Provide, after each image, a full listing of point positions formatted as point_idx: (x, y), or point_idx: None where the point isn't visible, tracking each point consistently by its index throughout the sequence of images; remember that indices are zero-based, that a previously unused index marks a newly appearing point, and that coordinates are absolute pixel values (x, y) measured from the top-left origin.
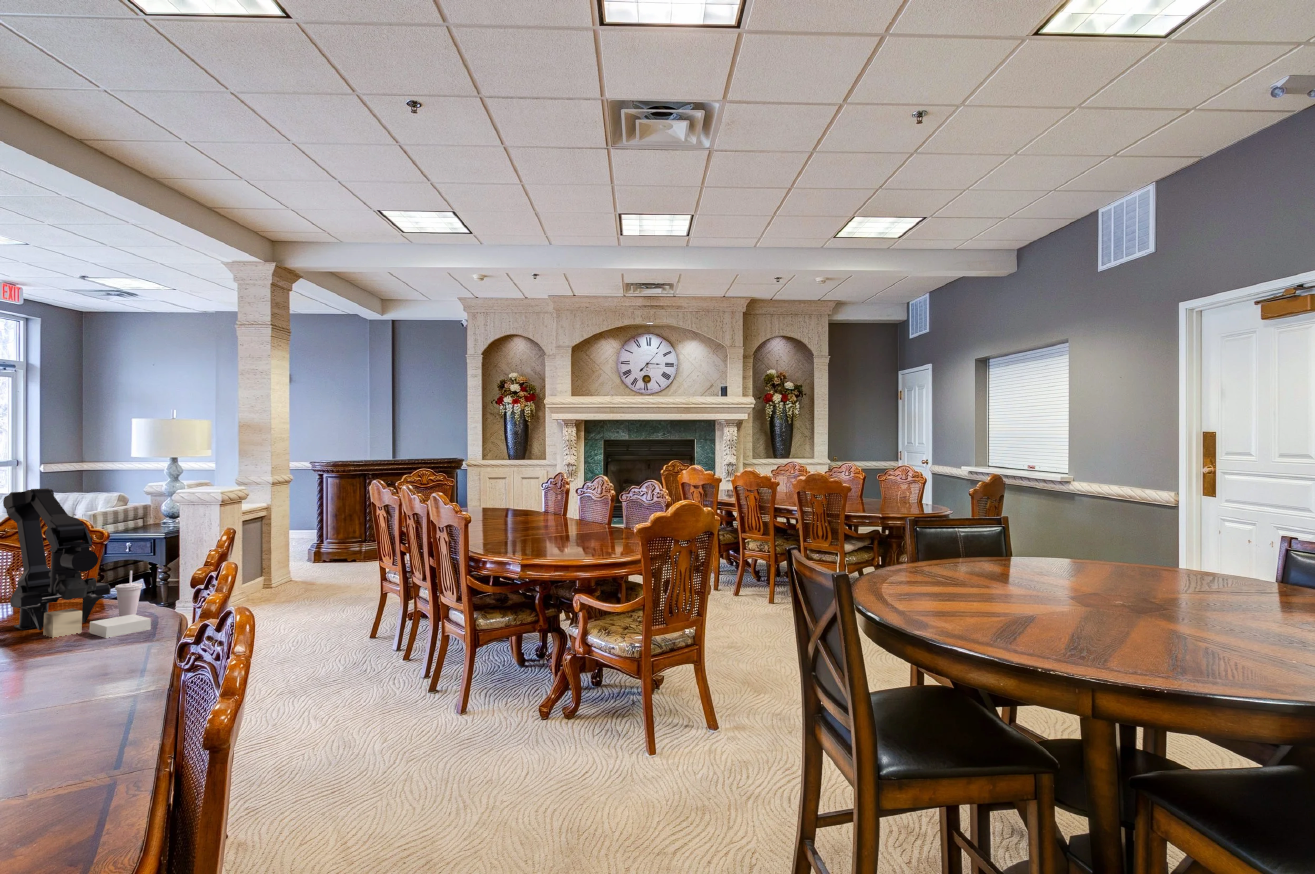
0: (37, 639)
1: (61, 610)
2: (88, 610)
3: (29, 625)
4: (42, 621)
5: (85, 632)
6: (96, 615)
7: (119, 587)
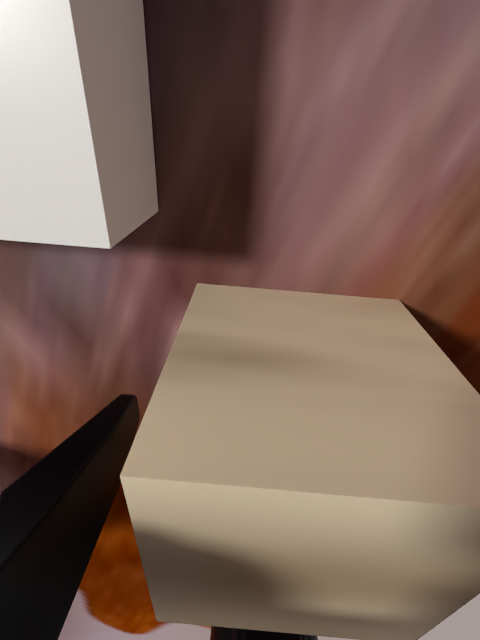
0: (456, 353)
1: (267, 623)
2: (33, 499)
3: None
4: None
5: (173, 265)
6: None
7: None
